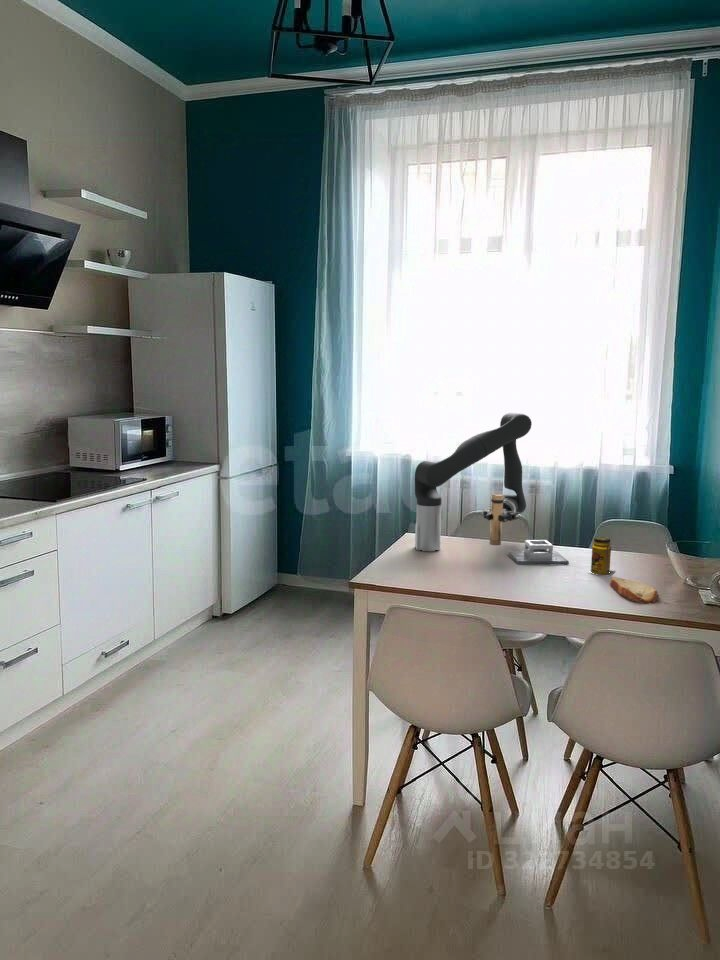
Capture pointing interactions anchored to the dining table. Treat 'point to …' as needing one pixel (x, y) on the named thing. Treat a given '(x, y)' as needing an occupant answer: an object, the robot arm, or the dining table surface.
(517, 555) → the grey socket base
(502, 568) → the dining table surface
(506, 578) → the dining table surface
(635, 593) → the slice of bread
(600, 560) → the condiment
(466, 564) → the dining table surface
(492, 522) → the wooden peg
